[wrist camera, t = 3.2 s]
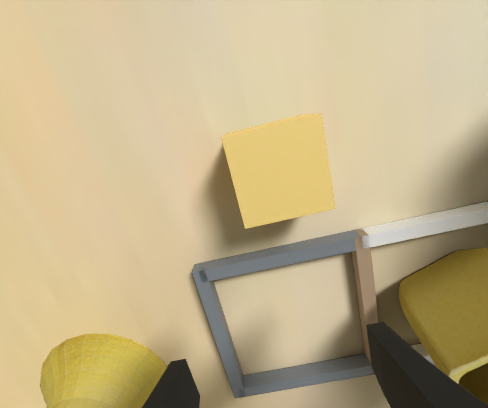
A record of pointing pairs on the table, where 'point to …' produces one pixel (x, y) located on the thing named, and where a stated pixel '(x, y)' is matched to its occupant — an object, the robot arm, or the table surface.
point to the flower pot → (452, 316)
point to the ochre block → (280, 169)
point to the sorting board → (310, 250)
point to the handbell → (99, 373)
